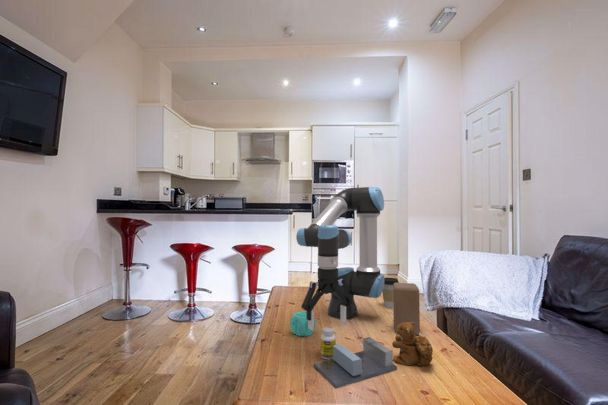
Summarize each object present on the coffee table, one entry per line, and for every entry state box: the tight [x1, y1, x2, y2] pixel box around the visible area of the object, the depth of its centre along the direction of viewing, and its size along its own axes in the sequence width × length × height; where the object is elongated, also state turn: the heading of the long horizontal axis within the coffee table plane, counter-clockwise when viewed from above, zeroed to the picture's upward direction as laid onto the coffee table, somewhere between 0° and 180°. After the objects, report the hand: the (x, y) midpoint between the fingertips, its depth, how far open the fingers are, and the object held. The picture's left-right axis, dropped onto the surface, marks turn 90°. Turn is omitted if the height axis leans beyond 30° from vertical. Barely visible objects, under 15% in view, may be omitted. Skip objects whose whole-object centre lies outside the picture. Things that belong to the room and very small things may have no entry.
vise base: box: [313, 336, 398, 389], centre depth 101 cm, size 14×24×6 cm, turn 116°
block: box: [392, 282, 421, 336], centre depth 133 cm, size 10×10×20 cm
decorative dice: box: [289, 310, 317, 337], centre depth 131 cm, size 8×8×8 cm
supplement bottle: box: [320, 326, 337, 360], centre depth 110 cm, size 5×5×10 cm
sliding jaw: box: [333, 343, 361, 376], centre depth 100 cm, size 12×4×5 cm, turn 26°
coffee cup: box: [382, 277, 400, 309], centre depth 167 cm, size 10×10×15 cm
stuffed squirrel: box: [391, 322, 434, 367], centre depth 106 cm, size 10×14×13 cm
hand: (327, 326), depth 109 cm, fingers open, 13 cm apart
